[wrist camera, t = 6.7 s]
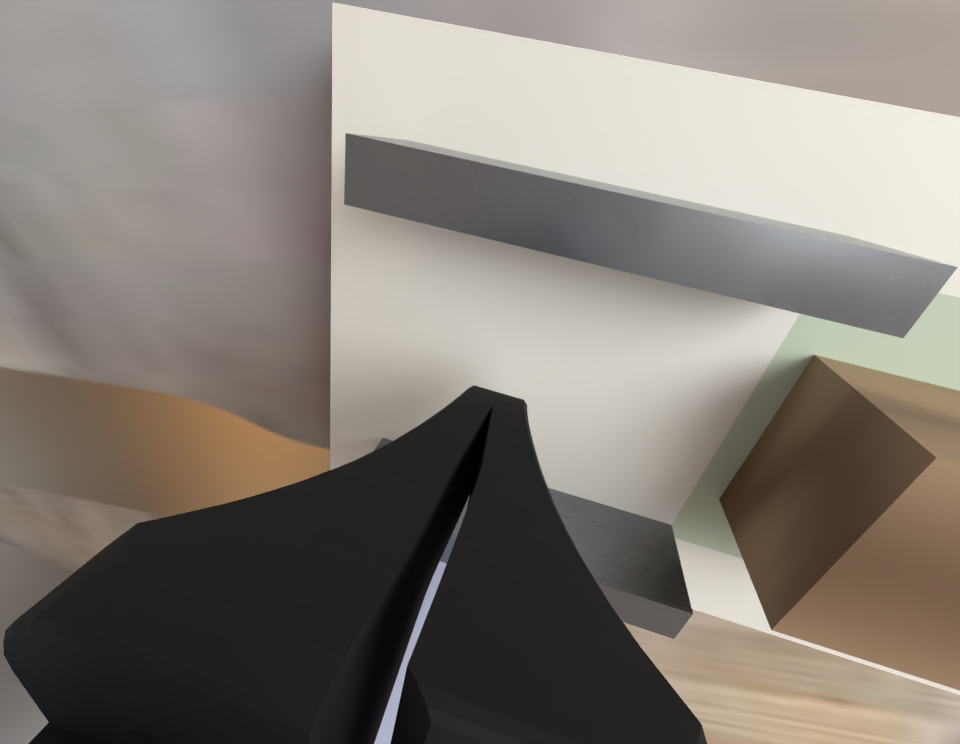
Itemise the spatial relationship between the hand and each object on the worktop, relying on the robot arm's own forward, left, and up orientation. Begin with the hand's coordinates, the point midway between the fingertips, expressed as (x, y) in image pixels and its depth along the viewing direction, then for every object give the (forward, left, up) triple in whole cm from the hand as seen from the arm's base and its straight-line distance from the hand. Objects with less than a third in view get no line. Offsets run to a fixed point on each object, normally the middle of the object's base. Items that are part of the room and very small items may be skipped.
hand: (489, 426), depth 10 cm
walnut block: (0, -10, -3) cm, 10 cm away
